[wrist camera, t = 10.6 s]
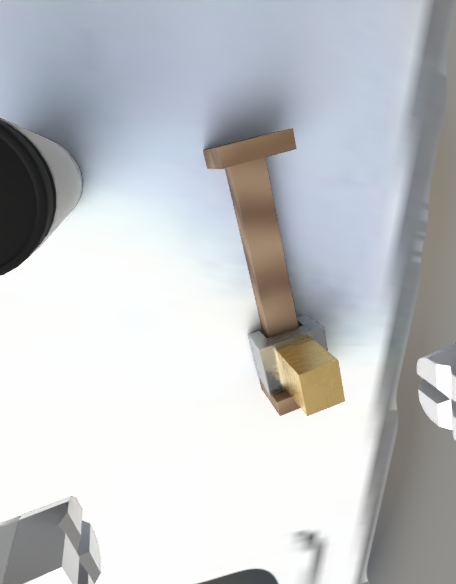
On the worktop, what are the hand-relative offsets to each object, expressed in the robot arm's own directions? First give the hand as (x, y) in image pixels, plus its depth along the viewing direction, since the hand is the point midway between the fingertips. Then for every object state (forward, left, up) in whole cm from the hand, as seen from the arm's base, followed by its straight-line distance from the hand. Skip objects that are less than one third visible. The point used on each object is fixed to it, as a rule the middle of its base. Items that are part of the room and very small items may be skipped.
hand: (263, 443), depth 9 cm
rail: (+6, +9, -28) cm, 30 cm away
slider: (+14, +9, -28) cm, 33 cm away
